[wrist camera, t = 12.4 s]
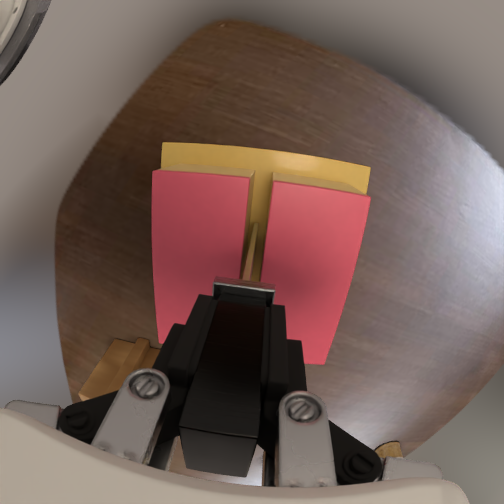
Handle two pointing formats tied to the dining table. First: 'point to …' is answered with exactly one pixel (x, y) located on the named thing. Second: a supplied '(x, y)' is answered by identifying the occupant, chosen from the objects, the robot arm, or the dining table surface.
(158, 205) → the cake
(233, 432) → the knife
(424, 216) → the dining table surface
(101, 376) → the knife block
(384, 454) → the sprinkles bottle
